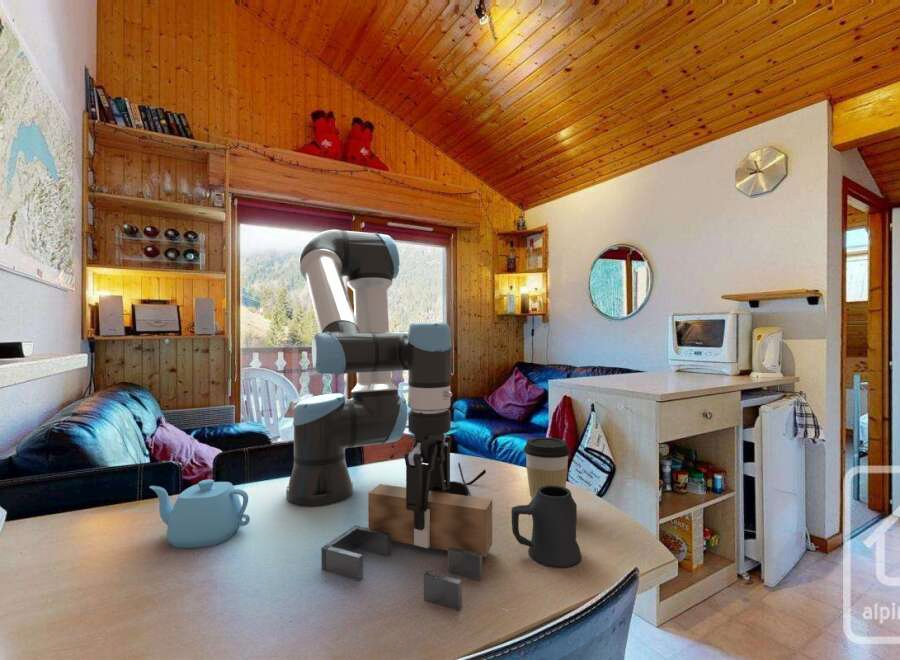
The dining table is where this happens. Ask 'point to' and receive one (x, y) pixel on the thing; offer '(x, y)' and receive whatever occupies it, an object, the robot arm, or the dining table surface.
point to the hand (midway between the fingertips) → (429, 538)
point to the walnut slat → (434, 518)
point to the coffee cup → (546, 462)
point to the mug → (550, 527)
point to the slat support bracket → (341, 551)
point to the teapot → (203, 514)
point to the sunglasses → (461, 485)
